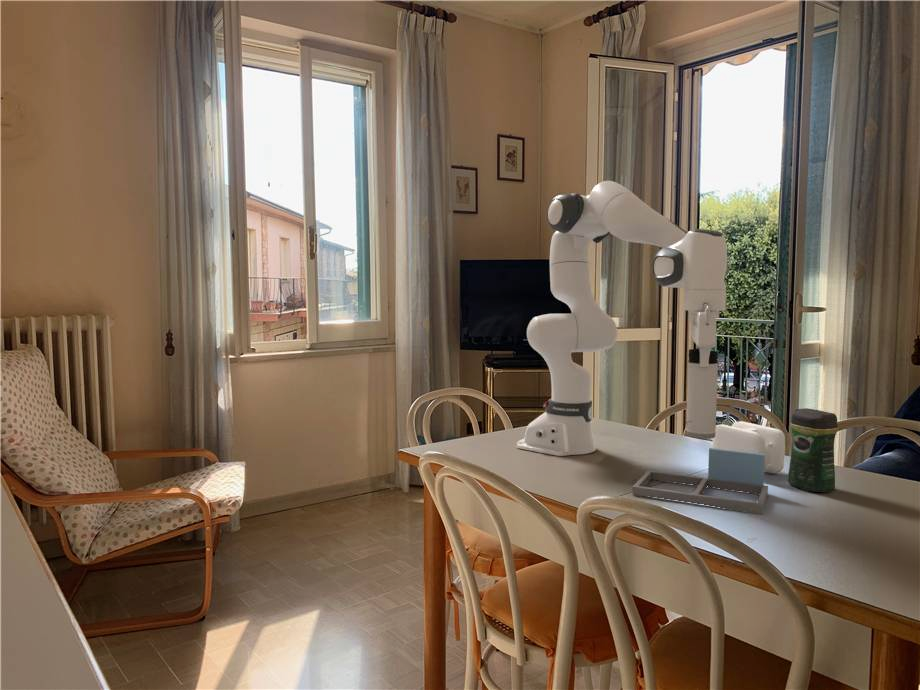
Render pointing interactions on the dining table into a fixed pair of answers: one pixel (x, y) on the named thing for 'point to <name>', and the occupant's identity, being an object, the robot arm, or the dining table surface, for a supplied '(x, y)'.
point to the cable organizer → (753, 442)
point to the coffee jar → (813, 450)
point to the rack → (716, 481)
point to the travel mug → (701, 396)
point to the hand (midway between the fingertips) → (702, 364)
